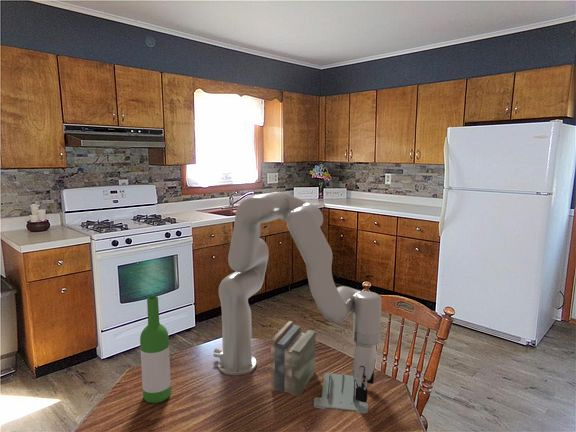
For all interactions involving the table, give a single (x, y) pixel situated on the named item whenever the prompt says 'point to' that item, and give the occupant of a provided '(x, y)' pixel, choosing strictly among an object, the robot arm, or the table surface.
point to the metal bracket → (340, 394)
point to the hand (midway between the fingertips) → (364, 391)
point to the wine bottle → (155, 356)
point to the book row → (292, 359)
